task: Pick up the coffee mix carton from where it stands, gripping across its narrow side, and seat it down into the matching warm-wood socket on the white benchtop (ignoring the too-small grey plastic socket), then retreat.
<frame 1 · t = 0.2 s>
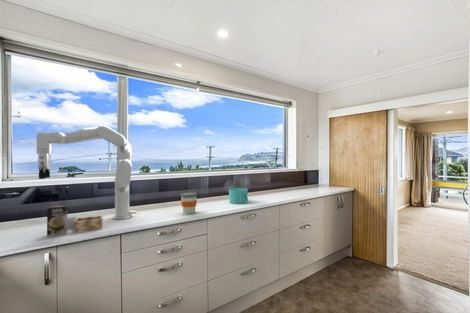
hand: (44, 178, 147), 31 cm above the worktop, fingers open, 9 cm apart
basket: (238, 202, 219), on the worktop
coffee box: (57, 234, 131), on the worktop
reusable coffee cup: (189, 212, 181), on the worktop
small grey socket: (70, 226, 146), on the worktop
wood socket: (88, 228, 141), on the worktop
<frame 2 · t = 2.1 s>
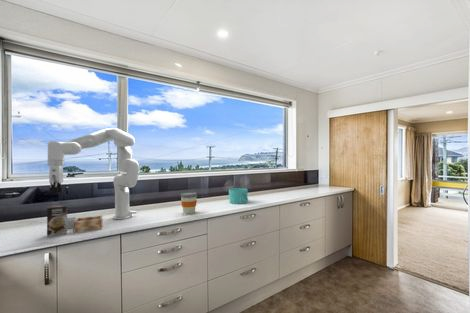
hand: (55, 193, 130), 24 cm above the worktop, fingers open, 9 cm apart
nothing on the worktop moved.
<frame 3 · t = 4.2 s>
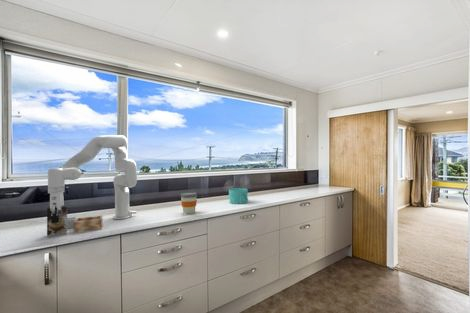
hand: (56, 220, 130), 8 cm above the worktop, fingers closed on coffee box, 7 cm apart
coffee box: (57, 234, 131), on the worktop, touching gripper
everything else where it was.
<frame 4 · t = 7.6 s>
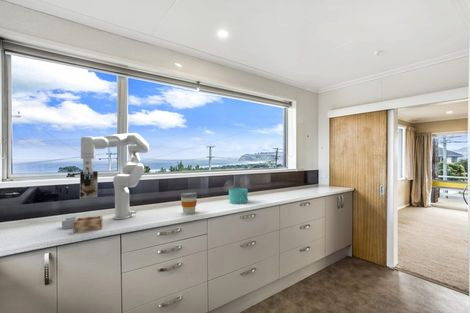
hand: (88, 185, 141), 27 cm above the worktop, fingers closed on coffee box, 7 cm apart
coffee box: (88, 197, 142), point 19 cm above the worktop, touching gripper
everything else where it was.
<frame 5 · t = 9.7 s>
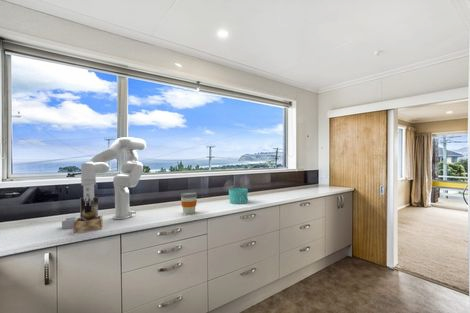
hand: (88, 210, 141), 11 cm above the worktop, fingers closed on coffee box, 7 cm apart
coffee box: (89, 223, 142), point 3 cm above the worktop, touching gripper
everything else where it was.
when the fingers open (10 cm above the worktop, at t = 11.2 s): coffee box drops 2 cm, resting in wood socket.
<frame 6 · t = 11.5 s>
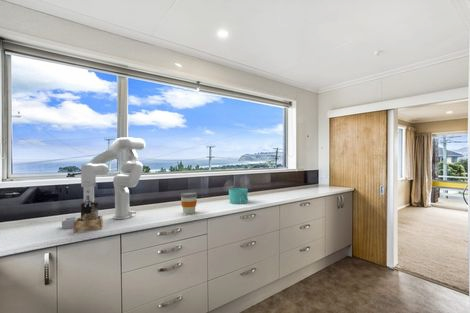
hand: (88, 211, 142), 10 cm above the worktop, fingers open, 9 cm apart
coffee box: (89, 228, 142), resting in wood socket
everything else where it was.
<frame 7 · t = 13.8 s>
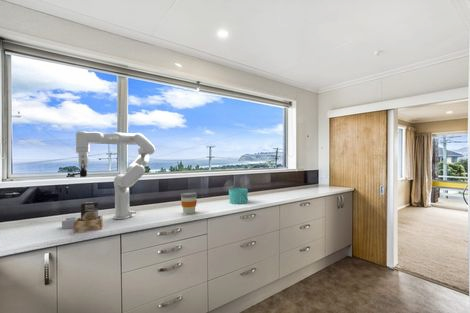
hand: (83, 176, 151), 32 cm above the worktop, fingers open, 9 cm apart
nothing on the worktop moved.
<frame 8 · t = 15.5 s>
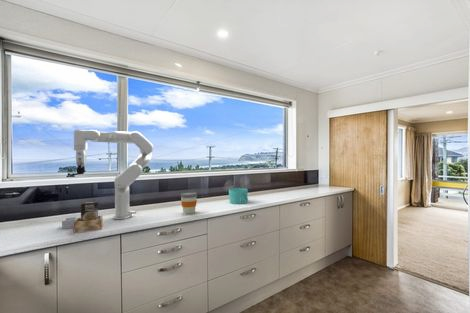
hand: (80, 173, 155), 33 cm above the worktop, fingers open, 9 cm apart
nothing on the worktop moved.
at the end: coffee box 0.4 cm off-centre on the wood socket, point 0.0 cm above the wood socket's base; coffee box tilted 0°; the gripper is holding nothing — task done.
